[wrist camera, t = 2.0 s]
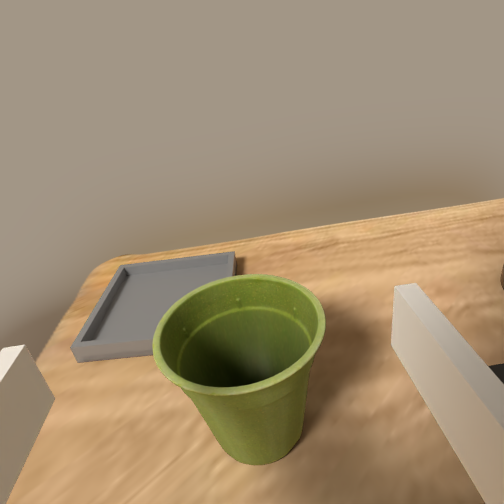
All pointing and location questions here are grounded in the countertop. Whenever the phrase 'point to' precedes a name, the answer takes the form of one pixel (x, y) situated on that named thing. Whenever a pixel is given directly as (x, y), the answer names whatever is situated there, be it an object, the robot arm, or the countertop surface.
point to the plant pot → (244, 360)
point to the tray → (143, 304)
